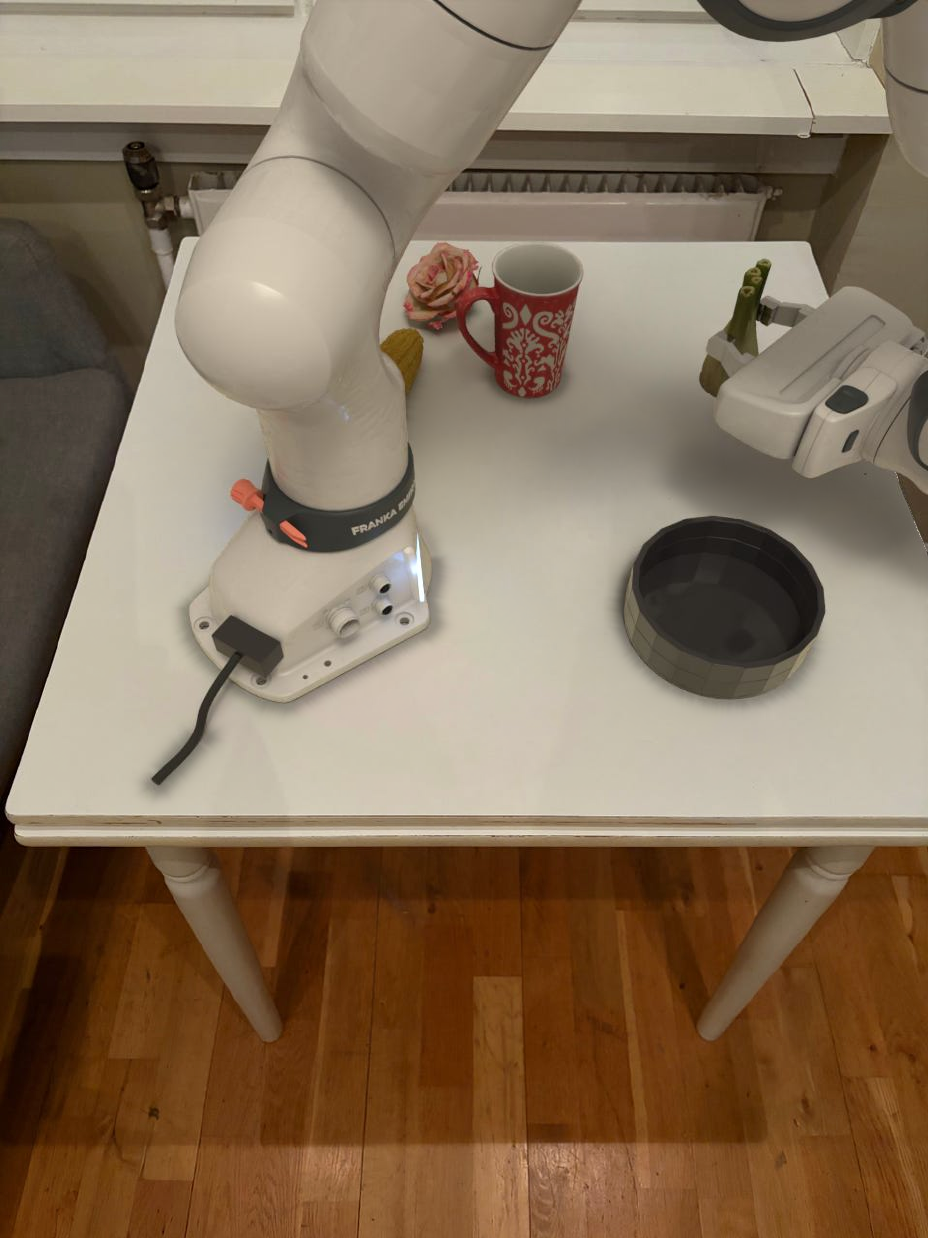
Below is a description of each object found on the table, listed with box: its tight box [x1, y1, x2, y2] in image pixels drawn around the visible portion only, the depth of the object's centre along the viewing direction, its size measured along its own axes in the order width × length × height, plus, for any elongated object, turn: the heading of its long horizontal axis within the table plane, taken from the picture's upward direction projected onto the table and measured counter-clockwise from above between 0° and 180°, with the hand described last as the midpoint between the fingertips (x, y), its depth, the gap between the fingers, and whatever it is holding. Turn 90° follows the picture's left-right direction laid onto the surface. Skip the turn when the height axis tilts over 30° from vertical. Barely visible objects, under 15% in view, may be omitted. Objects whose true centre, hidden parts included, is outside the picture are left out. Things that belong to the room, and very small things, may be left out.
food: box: [380, 327, 425, 400], centre depth 97 cm, size 21×6×6 cm, turn 165°
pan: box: [623, 515, 827, 700], centre depth 83 cm, size 16×16×5 cm
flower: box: [402, 241, 482, 330], centre depth 107 cm, size 10×9×8 cm
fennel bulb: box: [698, 258, 773, 399], centre depth 83 cm, size 6×5×12 cm
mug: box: [455, 241, 584, 399], centre depth 98 cm, size 13×9×14 cm
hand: (734, 322), depth 82 cm, fingers closed on fennel bulb, 5 cm apart
